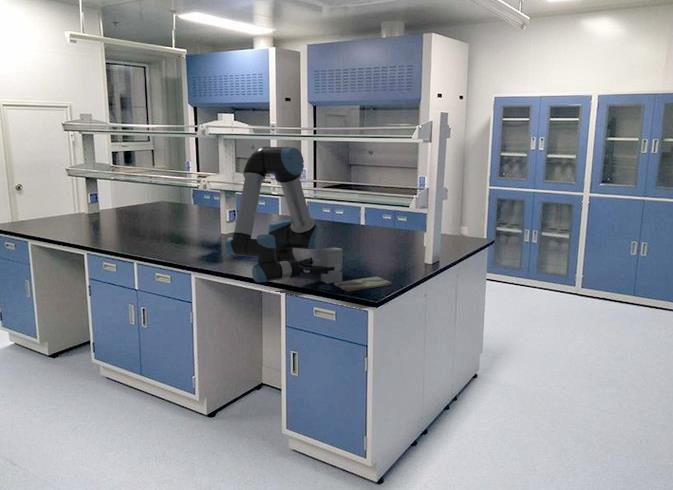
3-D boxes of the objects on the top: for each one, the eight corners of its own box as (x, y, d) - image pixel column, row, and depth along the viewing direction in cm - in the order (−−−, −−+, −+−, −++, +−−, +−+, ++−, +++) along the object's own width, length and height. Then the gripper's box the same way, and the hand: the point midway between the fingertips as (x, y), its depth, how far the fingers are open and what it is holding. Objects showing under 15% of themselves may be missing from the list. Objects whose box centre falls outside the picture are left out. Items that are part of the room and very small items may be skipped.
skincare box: (327, 284, 240) (327, 251, 237) (320, 281, 245) (319, 248, 242) (343, 281, 245) (343, 248, 242) (335, 278, 250) (335, 246, 247)
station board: (333, 284, 239) (333, 282, 239) (376, 278, 249) (376, 276, 249) (347, 291, 229) (347, 289, 228) (391, 284, 239) (391, 282, 238)
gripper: (277, 271, 245) (320, 266, 255) (300, 285, 223) (346, 278, 233) (277, 255, 244) (320, 250, 253) (300, 267, 222) (346, 261, 232)
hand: (332, 263), depth 243 cm, fingers open, 13 cm apart
